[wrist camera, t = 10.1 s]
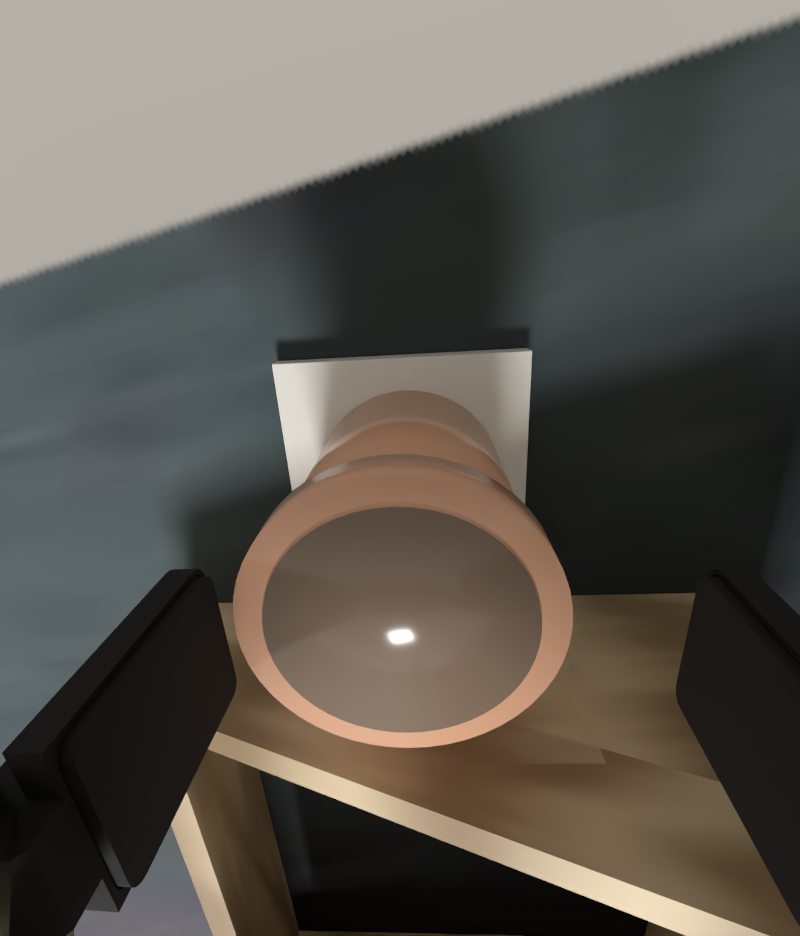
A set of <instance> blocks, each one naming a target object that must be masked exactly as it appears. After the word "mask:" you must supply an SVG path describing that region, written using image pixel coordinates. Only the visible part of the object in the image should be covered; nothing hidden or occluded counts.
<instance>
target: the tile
mask: <svg viewBox="0 0 800 936" xmlns="http://www.w3.org/2000/svg"><path fill="white" fill-rule="evenodd" d="M531 365H532V350H530V349H529V348H517V349H498V350H479V351H460V352H441V353H422V354H403V355H384V356H365V357H345V358H326V359H307V360H288V361H277V362H275V363H273V364H272V368H273V375H274V381H275V387H276V393H277V400H278V406H279V412H280V418H281V425H282V431H283V437H284V444H285V450H286V456H287V462H288V469H289V475H290V481H291V487H292V491H293V490H294V489H296V488H297V487H299V486H300V485H301V484H303V483H304V482H305V481H306V479H307V477H308V475H309V474H310V472H311V470H312V468H313V466H314V464H315V463H316V461H317V459H318V457H319V455H320V454H321V452H322V450H323V448H324V446H325V444H326V443H327V441H328V439H329V437H330V435H331V434H332V432H333V430H334V429H335V427H336V426H337V425H338V423H339V422H340V421H341V420H342V419H343V418H344V417H345V416H346V415H347V414H348V413H349V412H350V411H351V410H353V409H354V408H355V407H357V406H358V405H360V404H361V403H363V402H365V401H367V400H368V399H371V398H373V397H376V396H379V395H382V394H386V393H390V392H395V391H404V390H407V391H423V392H429V393H433V394H437V395H440V396H443V397H445V398H448V399H450V400H452V401H454V402H456V403H457V404H459V405H461V406H462V407H464V408H465V409H466V410H468V411H469V412H470V413H471V414H473V415H474V417H475V418H476V419H477V420H478V421H479V422H480V423H481V424H482V426H483V427H484V428H485V430H486V431H487V433H488V435H489V436H490V438H491V440H492V442H493V445H494V447H495V449H496V452H497V454H498V457H499V459H500V462H501V464H502V466H503V469H504V471H505V474H506V476H507V479H508V481H509V483H510V486H511V488H512V491H513V493H514V495H516V496H517V497H518V498H519V499H520V500H521V501H522V502H523V503H524V504H525V493H526V472H527V451H528V429H529V408H530V387H531Z"/></svg>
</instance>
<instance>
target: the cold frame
mask: <svg viewBox="0 0 800 936" xmlns="http://www.w3.org/2000/svg"><path fill="white" fill-rule="evenodd" d="M571 598H572V605H573V628H572V634H571V639H570V645H569V647H568V650H567V653H566V656H565V659H564V661H563V663H562V665H561V667H560V669H559V671H558V673H557V674H556V676H555V678H554V679H553V680H552V682H551V683H550V684H549V686H548V687H547V689H546V690H545V691H544V692H543V693H542V694H541V695H540V696H539V697H538V698H537V699H536V700H535V701H534V702H533V703H532V704H531V705H530V706H529V707H528V708H526V709H525V710H524V711H523V712H521V713H520V714H519V715H518V716H516V717H514V718H513V719H511V720H509V721H508V722H506V723H505V724H503V725H501V726H499V727H497V728H495V729H493V730H491V731H489V732H486V733H484V734H481V735H479V736H476V737H473V738H470V739H467V740H463V741H459V742H455V743H451V744H446V745H439V746H432V747H418V748H399V747H386V746H378V745H371V744H366V743H362V742H358V741H353V740H350V739H347V738H344V737H341V736H338V735H335V734H332V733H330V732H328V731H325V730H323V729H321V728H319V727H316V726H315V725H313V724H311V723H309V722H307V721H306V720H304V719H302V718H300V717H299V716H297V715H296V714H295V713H293V712H292V711H290V710H289V709H288V708H286V707H285V706H284V705H283V704H282V703H280V702H279V701H278V700H277V699H276V698H275V697H274V696H273V695H272V694H271V693H270V692H269V691H268V690H267V689H266V688H265V687H264V686H263V684H262V683H261V682H260V681H259V680H258V678H257V677H256V675H255V674H254V672H253V671H252V669H251V668H250V666H249V664H248V662H247V660H246V658H245V656H244V654H243V652H242V650H241V647H240V644H239V641H238V638H237V635H236V631H235V625H234V618H233V603H218V604H219V608H220V612H221V616H222V621H223V625H224V629H225V633H226V637H227V641H228V645H229V649H230V653H231V657H232V661H233V665H234V669H235V673H236V679H237V684H236V690H235V694H234V696H233V699H232V701H231V703H230V705H229V707H228V709H227V711H226V713H225V715H224V717H223V719H222V721H221V723H220V725H219V727H218V729H217V731H216V733H215V735H214V737H213V739H212V741H211V743H210V746H209V748H208V750H207V752H206V754H205V756H204V758H203V760H202V762H201V764H200V766H199V768H198V770H197V772H196V774H195V776H194V778H193V780H192V782H191V784H190V786H189V788H188V790H187V792H186V794H185V796H184V798H183V801H182V803H181V805H180V807H179V809H178V811H177V813H176V815H175V817H174V819H173V821H172V823H171V826H172V828H173V831H174V834H175V836H176V839H177V841H178V844H179V847H180V849H181V852H182V855H183V857H184V860H185V863H186V865H187V868H188V871H189V873H190V876H191V878H192V881H193V884H194V886H195V889H196V892H197V894H198V897H199V900H200V902H201V905H202V908H203V910H204V913H205V915H206V918H207V921H208V923H209V926H210V929H211V931H212V934H213V936H522V935H476V934H429V933H382V932H335V931H299V928H298V924H297V920H296V916H295V912H294V908H293V904H292V900H291V896H290V892H289V888H288V884H287V880H286V876H285V872H284V868H283V864H282V860H281V856H280V852H279V848H278V844H277V840H276V836H275V832H274V828H273V824H272V820H271V816H270V812H269V809H268V805H267V801H266V797H265V793H264V789H263V785H262V781H261V777H260V773H259V769H260V770H262V771H265V772H267V773H270V774H272V775H275V776H277V777H280V778H283V779H285V780H288V781H290V782H293V783H295V784H298V785H301V786H303V787H306V788H308V789H311V790H313V791H316V792H319V793H321V794H324V795H326V796H329V797H331V798H334V799H336V800H339V801H342V802H344V803H347V804H349V805H352V806H354V807H357V808H360V809H362V810H365V811H367V812H370V813H372V814H375V815H377V816H380V817H383V818H385V819H388V820H390V821H393V822H395V823H398V824H401V825H403V826H406V827H408V828H411V829H413V830H416V831H418V832H421V833H424V834H426V835H429V836H431V837H434V838H436V839H439V840H442V841H444V842H447V843H449V844H452V845H454V846H457V847H460V848H462V849H465V850H467V851H470V852H472V853H475V854H477V855H480V856H483V857H485V858H488V859H490V860H493V861H495V862H498V863H501V864H503V865H506V866H508V867H511V868H513V869H516V870H518V871H521V872H524V873H526V874H529V875H531V876H534V877H536V878H539V879H542V880H544V881H547V882H549V883H552V884H554V885H557V886H559V887H562V888H565V889H567V890H570V891H572V892H575V893H577V894H580V895H583V896H585V897H588V898H590V899H593V900H595V901H598V902H601V903H603V904H606V905H608V906H611V907H613V908H616V909H618V910H621V911H624V912H626V913H629V914H631V915H634V916H636V917H639V918H642V919H644V920H647V921H648V924H647V928H646V932H645V936H800V925H799V924H798V923H797V921H796V920H795V918H794V917H793V915H792V913H791V911H790V910H789V908H788V906H787V904H786V902H785V900H784V899H783V897H782V895H781V893H780V891H779V889H778V888H777V886H776V884H775V882H774V880H773V878H772V876H771V875H770V873H769V871H768V869H767V867H766V865H765V864H764V862H763V860H762V858H761V856H760V854H759V853H758V851H757V849H756V847H755V845H754V843H753V842H752V840H751V838H750V836H749V834H748V832H747V830H746V829H745V827H744V825H743V823H742V821H741V819H740V818H739V816H738V814H737V812H736V810H735V808H734V807H733V805H732V803H731V801H730V799H729V797H728V795H727V794H726V792H725V790H724V788H723V786H722V784H721V783H720V781H719V779H718V777H717V775H716V773H715V772H714V770H713V768H712V766H711V764H710V762H709V761H708V759H707V757H706V755H705V753H704V751H703V749H702V748H701V746H700V744H699V742H698V740H697V738H696V737H695V735H694V733H693V731H692V729H691V727H690V726H689V724H688V722H687V720H686V718H685V716H684V715H683V713H682V711H681V709H680V707H679V705H678V701H677V697H676V682H677V678H678V673H679V668H680V664H681V659H682V654H683V650H684V645H685V640H686V636H687V631H688V626H689V622H690V617H691V612H692V607H693V603H694V598H695V593H664V594H617V595H571Z"/></svg>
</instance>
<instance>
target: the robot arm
mask: <svg viewBox="0 0 800 936" xmlns="http://www.w3.org/2000/svg"><path fill="white" fill-rule="evenodd" d="M236 684H237V679H236V673H235V669H234V665H233V661H232V657H231V653H230V649H229V645H228V641H227V637H226V633H225V629H224V625H223V621H222V616H221V612H220V608H219V604H218V600H217V596H216V592H215V588H214V584H213V581H212V579H211V578H210V577H205V574H204V573H203V571H202V570H199V569H173V570H170V571H168V572H167V573H166V574H165V575H164V576H163V577H162V578H161V580H160V581H159V582H158V583H157V584H156V585H155V586H154V587H153V588H152V589H151V590H150V592H149V593H148V594H147V595H146V596H145V597H144V598H143V599H142V600H141V601H140V603H139V604H138V605H137V606H136V607H135V608H134V609H133V610H132V611H131V612H130V613H129V615H128V616H127V617H126V618H125V619H124V620H123V621H122V622H121V623H120V624H119V626H118V627H117V628H116V629H115V630H114V631H113V632H112V633H111V634H110V635H109V636H108V638H107V639H106V640H105V641H104V642H103V643H102V644H101V645H100V646H99V647H98V649H97V650H96V651H95V652H94V653H93V654H92V655H91V656H90V657H89V658H88V659H87V661H86V662H85V663H84V664H83V665H82V666H81V667H80V668H79V669H78V670H77V671H76V673H75V674H74V675H73V676H72V677H71V678H70V679H69V680H68V681H67V682H66V684H65V685H64V686H63V687H62V688H61V689H60V690H59V691H58V692H57V693H56V694H55V696H54V697H53V698H52V699H51V700H50V701H49V702H48V703H47V704H46V705H45V707H44V708H43V709H42V710H41V711H40V712H39V713H38V714H37V715H36V716H35V717H34V719H33V720H32V721H31V722H30V723H29V724H28V725H27V726H26V727H25V728H24V730H23V731H22V732H21V733H20V734H19V735H18V736H17V737H16V738H15V739H14V740H13V742H12V743H11V744H10V745H9V746H8V747H7V748H6V749H5V750H4V751H3V753H2V754H3V755H4V757H5V759H6V761H5V762H4V763H3V765H2V766H1V767H0V936H74V928H75V926H76V924H77V922H78V921H79V919H80V917H81V915H82V914H83V912H84V910H85V909H86V910H95V911H108V912H119V911H120V909H121V907H122V905H123V903H124V901H125V899H126V897H127V895H128V893H129V891H130V889H131V887H136V886H138V885H139V884H140V883H141V882H142V880H143V879H144V877H145V875H146V874H147V872H148V870H149V868H150V866H151V864H152V862H153V860H154V858H155V856H156V854H157V851H158V849H159V847H160V845H161V843H162V841H163V839H164V837H165V835H166V833H167V831H168V829H169V827H170V825H171V823H172V821H173V819H174V817H175V815H176V813H177V811H178V809H179V807H180V805H181V803H182V801H183V798H184V796H185V794H186V792H187V790H188V788H189V786H190V784H191V782H192V780H193V778H194V776H195V774H196V772H197V770H198V768H199V766H200V764H201V762H202V760H203V758H204V756H205V754H206V752H207V750H208V748H209V746H210V743H211V741H212V739H213V737H214V735H215V733H216V731H217V729H218V727H219V725H220V723H221V721H222V719H223V717H224V715H225V713H226V711H227V709H228V707H229V705H230V703H231V701H232V699H233V696H234V694H235V690H236ZM676 697H677V701H678V705H679V707H680V709H681V711H682V713H683V715H684V716H685V718H686V720H687V722H688V724H689V726H690V727H691V729H692V731H693V733H694V735H695V737H696V738H697V740H698V742H699V744H700V746H701V748H702V749H703V751H704V753H705V755H706V757H707V759H708V761H709V762H710V764H711V766H712V768H713V770H714V772H715V773H716V775H717V777H718V779H719V781H720V783H721V784H722V786H723V788H724V790H725V792H726V794H727V795H728V797H729V799H730V801H731V803H732V805H733V807H734V808H735V810H736V812H737V814H738V816H739V818H740V819H741V821H742V823H743V825H744V827H745V829H746V830H747V832H748V834H749V836H750V838H751V840H752V842H753V843H754V845H755V847H756V849H757V851H758V853H759V854H760V856H761V858H762V860H763V862H764V864H765V865H766V867H767V869H768V871H769V873H770V875H771V876H772V878H773V880H774V882H775V884H776V886H777V888H778V889H779V891H780V893H781V895H782V897H783V899H784V900H785V902H786V904H787V906H788V908H789V910H790V911H791V913H792V915H793V917H794V918H795V920H796V921H797V923H798V924H799V925H800V616H799V615H798V614H797V613H796V612H795V611H794V610H793V609H792V608H791V607H790V606H789V605H788V604H787V603H786V602H785V601H784V600H783V599H782V598H780V597H779V596H778V595H777V594H776V593H775V592H774V591H773V590H772V589H771V588H770V587H769V586H768V585H767V584H766V583H765V582H764V581H763V580H762V579H761V578H760V577H759V576H758V575H757V574H756V573H754V572H753V571H752V570H750V569H712V570H710V572H709V573H708V575H707V577H701V578H700V579H699V581H698V584H697V589H696V593H695V598H694V603H693V607H692V612H691V617H690V622H689V626H688V631H687V636H686V640H685V645H684V650H683V654H682V659H681V664H680V668H679V673H678V678H677V682H676Z"/></svg>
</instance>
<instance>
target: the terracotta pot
mask: <svg viewBox="0 0 800 936" xmlns="http://www.w3.org/2000/svg"><path fill="white" fill-rule="evenodd" d="M233 618H234V625H235V631H236V635H237V638H238V641H239V644H240V647H241V650H242V652H243V654H244V656H245V658H246V660H247V662H248V664H249V666H250V668H251V669H252V671H253V672H254V674H255V675H256V677H257V678H258V680H259V681H260V682H261V683H262V684H263V686H264V687H265V688H266V689H267V690H268V691H269V692H270V693H271V694H272V695H273V696H274V697H275V698H276V699H277V700H278V701H279V702H280V703H282V704H283V705H284V706H285V707H286V708H288V709H289V710H290V711H292V712H293V713H295V714H296V715H297V716H299V717H300V718H302V719H304V720H306V721H307V722H309V723H311V724H313V725H315V726H316V727H319V728H321V729H323V730H325V731H328V732H330V733H332V734H335V735H338V736H341V737H344V738H347V739H350V740H353V741H358V742H362V743H366V744H371V745H378V746H386V747H399V748H418V747H432V746H439V745H446V744H451V743H455V742H459V741H463V740H467V739H470V738H473V737H476V736H479V735H481V734H484V733H486V732H489V731H491V730H493V729H495V728H497V727H499V726H501V725H503V724H505V723H506V722H508V721H509V720H511V719H513V718H514V717H516V716H518V715H519V714H520V713H521V712H523V711H524V710H525V709H526V708H528V707H529V706H530V705H531V704H532V703H533V702H534V701H535V700H536V699H537V698H538V697H539V696H540V695H541V694H542V693H543V692H544V691H545V690H546V689H547V687H548V686H549V684H550V683H551V682H552V680H553V679H554V678H555V676H556V674H557V673H558V671H559V669H560V667H561V665H562V663H563V661H564V659H565V656H566V653H567V650H568V647H569V645H570V639H571V634H572V628H573V605H572V598H571V592H570V588H569V585H568V582H567V579H566V576H565V573H564V570H563V568H562V566H561V564H560V562H559V560H558V558H557V555H556V553H555V551H554V549H553V547H552V545H551V543H550V541H549V539H548V537H547V535H546V533H545V531H544V529H543V527H542V526H541V524H540V523H539V521H538V520H537V519H536V517H535V516H534V515H533V513H532V512H531V511H530V509H529V508H528V507H527V506H526V505H525V504H524V503H523V502H522V501H521V500H520V499H519V498H518V497H517V496H516V495H514V493H513V491H512V488H511V486H510V483H509V481H508V479H507V476H506V474H505V471H504V469H503V466H502V464H501V462H500V459H499V457H498V454H497V452H496V449H495V447H494V445H493V442H492V440H491V438H490V436H489V435H488V433H487V431H486V430H485V428H484V427H483V426H482V424H481V423H480V422H479V421H478V420H477V419H476V418H475V417H474V415H473V414H471V413H470V412H469V411H468V410H466V409H465V408H464V407H462V406H461V405H459V404H457V403H456V402H454V401H452V400H450V399H448V398H445V397H443V396H440V395H437V394H433V393H429V392H423V391H407V390H404V391H395V392H390V393H386V394H382V395H379V396H376V397H373V398H371V399H368V400H367V401H365V402H363V403H361V404H360V405H358V406H357V407H355V408H354V409H353V410H351V411H350V412H349V413H348V414H347V415H346V416H345V417H344V418H343V419H342V420H341V421H340V422H339V423H338V425H337V426H336V427H335V429H334V430H333V432H332V434H331V435H330V437H329V439H328V441H327V443H326V444H325V446H324V448H323V450H322V452H321V454H320V455H319V457H318V459H317V461H316V463H315V464H314V466H313V468H312V470H311V472H310V474H309V475H308V477H307V479H306V481H305V482H304V483H303V484H301V485H300V486H299V487H297V488H296V489H294V490H293V491H292V492H291V493H290V494H289V495H288V496H287V497H286V498H285V499H284V500H283V501H282V502H281V503H280V504H279V505H278V506H277V507H276V509H275V510H274V511H273V513H272V514H271V515H270V517H269V518H268V519H267V521H266V522H265V524H264V526H263V527H262V529H261V531H260V532H259V534H258V535H257V537H256V539H255V540H254V542H253V543H252V545H251V547H250V549H249V551H248V552H247V554H246V556H245V558H244V560H243V562H242V564H241V567H240V570H239V573H238V576H237V579H236V583H235V589H234V595H233Z"/></svg>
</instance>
